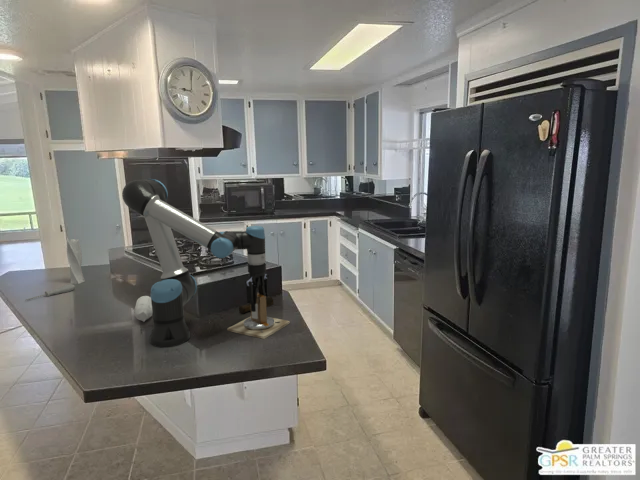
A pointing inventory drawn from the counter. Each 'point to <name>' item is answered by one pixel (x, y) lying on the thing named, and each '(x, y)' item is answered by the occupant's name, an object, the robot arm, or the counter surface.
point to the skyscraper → (75, 261)
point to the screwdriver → (58, 291)
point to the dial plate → (258, 333)
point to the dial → (259, 316)
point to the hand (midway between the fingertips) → (258, 316)
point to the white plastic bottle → (143, 308)
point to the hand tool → (248, 307)
